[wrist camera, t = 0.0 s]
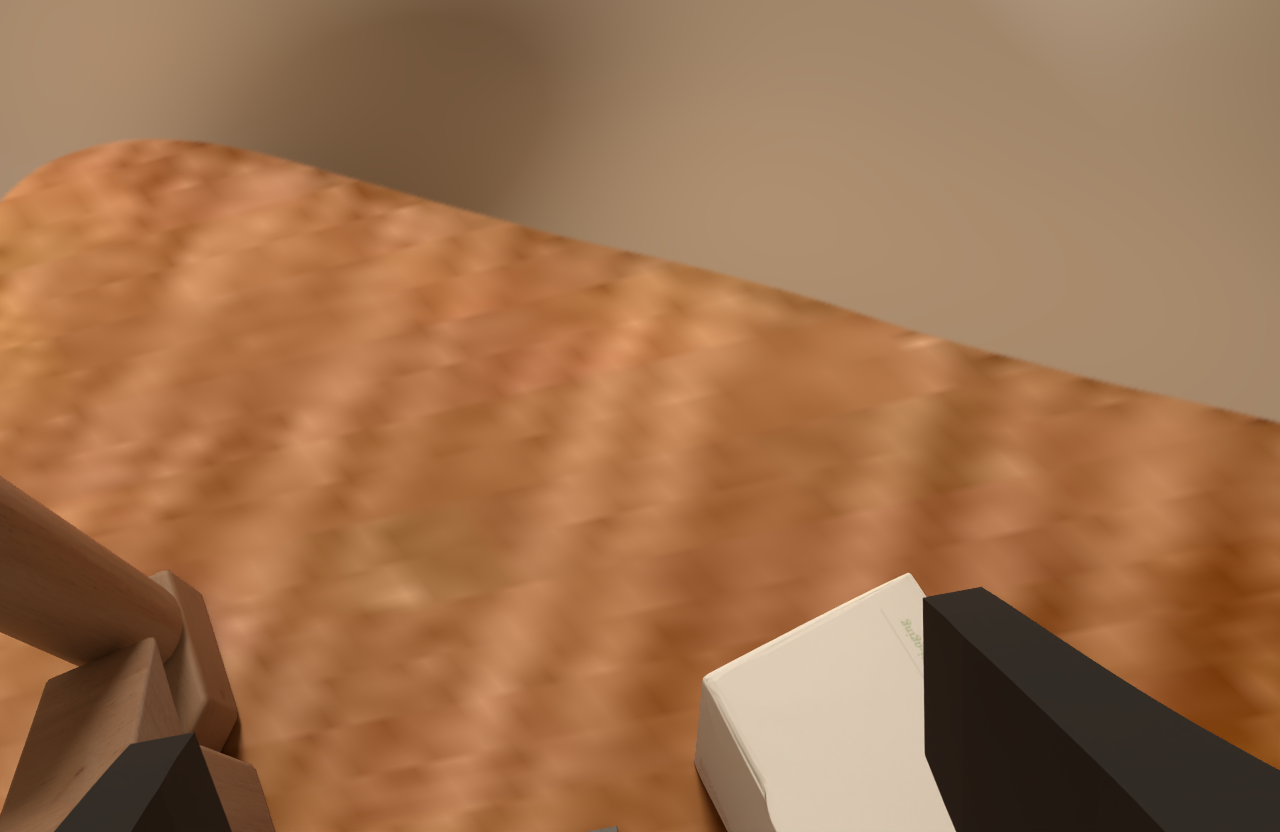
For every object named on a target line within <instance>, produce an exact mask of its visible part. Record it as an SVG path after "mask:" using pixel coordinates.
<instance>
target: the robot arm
mask: <svg viewBox="0 0 1280 832" xmlns="http://www.w3.org/2000/svg"><path fill="white" fill-rule="evenodd" d="M923 667H924V750H925V757H926V759H927V762H928V764H929V767H930V769H931V772H932V774H933V777H934V780H935V782H936V785H937V787H938V790H939V792H940V795H941V797H942V800H943V802H944V805H945V807H946V809H947V812H948V814H949V816H950V819H951V821H952V824H953V826H954V828H955V831H956V832H1280V770H1278V769H1276V768H1274V767H1272V766H1270V765H1268V764H1267V763H1265V762H1263V761H1261V760H1259V759H1257V758H1256V757H1254V756H1252V755H1250V754H1248V753H1247V752H1245V751H1243V750H1241V749H1239V748H1238V747H1236V746H1234V745H1232V744H1230V743H1229V742H1227V741H1225V740H1223V739H1222V738H1220V737H1218V736H1216V735H1214V734H1213V733H1211V732H1209V731H1207V730H1205V729H1204V728H1202V727H1200V726H1198V725H1197V724H1195V723H1193V722H1192V721H1190V720H1188V719H1186V718H1185V717H1183V716H1181V715H1180V714H1178V713H1176V712H1175V711H1173V710H1171V709H1170V708H1168V707H1166V706H1165V705H1163V704H1161V703H1160V702H1158V701H1156V700H1155V699H1153V698H1151V697H1150V696H1148V695H1147V694H1145V693H1143V692H1142V691H1140V690H1139V689H1137V688H1135V687H1134V686H1132V685H1131V684H1129V683H1127V682H1126V681H1124V680H1123V679H1121V678H1119V677H1118V676H1116V675H1115V674H1113V673H1112V672H1110V671H1109V670H1107V669H1105V668H1104V667H1102V666H1101V665H1099V664H1098V663H1096V662H1095V661H1093V660H1091V659H1090V658H1088V657H1087V656H1085V655H1084V654H1082V653H1081V652H1079V651H1078V650H1076V649H1075V648H1073V647H1072V646H1070V645H1069V644H1067V643H1066V642H1064V641H1063V640H1061V639H1060V638H1058V637H1057V636H1055V635H1054V634H1052V633H1051V632H1049V631H1048V630H1046V629H1045V628H1043V627H1042V626H1040V625H1039V624H1037V623H1036V622H1034V621H1033V620H1031V619H1030V618H1028V617H1027V616H1025V615H1024V614H1022V613H1021V612H1019V611H1018V610H1016V609H1015V608H1013V607H1012V606H1010V605H1009V604H1007V603H1006V602H1004V601H1003V600H1001V599H1000V598H998V597H997V596H995V595H993V594H992V593H990V592H989V591H987V590H985V589H984V588H982V587H978V588H973V589H968V590H962V591H957V592H951V593H946V594H940V595H935V596H930V597H924V598H923ZM54 832H232V830H231V828H230V825H229V822H228V820H227V817H226V814H225V812H224V809H223V806H222V804H221V801H220V798H219V796H218V793H217V790H216V788H215V785H214V782H213V780H212V777H211V774H210V772H209V769H208V766H207V764H206V761H205V758H204V756H203V753H202V750H201V748H200V745H199V742H198V740H197V737H196V734H195V732H193V733H187V734H182V735H176V736H171V737H166V738H160V739H155V740H149V741H144V742H139V743H133V744H130V745H129V746H128V747H127V748H126V749H125V750H124V751H123V752H122V753H121V754H120V756H119V757H118V758H117V759H116V760H115V761H114V762H113V763H112V764H111V766H110V767H109V768H108V769H107V770H106V771H105V772H104V773H103V775H102V776H101V777H100V778H99V779H98V780H97V782H96V783H95V784H94V785H93V786H92V787H91V789H90V790H89V791H88V792H87V793H86V794H85V796H84V797H83V798H82V799H81V800H80V801H79V803H78V804H77V805H76V806H75V807H74V808H73V810H72V811H71V812H70V813H69V814H68V816H67V817H66V818H65V819H64V820H63V821H62V823H61V824H60V825H59V826H58V827H57V828H56V830H55V831H54Z"/></svg>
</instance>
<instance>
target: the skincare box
mask: <svg viewBox="0 0 1280 832" xmlns="http://www.w3.org/2000/svg"><path fill="white" fill-rule="evenodd" d="M924 597H926V596H925V594H924V593H923V591H922V590H921V588H920V587H919V585H918V584H917V582H916V581H915V579H914V578H913V576H912V575H911V574H910V573H907V574H905V575H902V576H900V577H898V578H896V579H894V580H891V581H889V582H887V583H885V584H883V585H881V586H879V587H877V588H874V589H872V590H870V591H868V592H866V593H864V594H862V595H860V596H858V597H856V598H854V599H852V600H850V601H848V602H846V603H844V604H842V605H840V606H838V607H836V608H834V609H832V610H830V611H828V612H827V613H825V614H823V615H821V616H819V617H817V618H815V619H813V620H811V621H809V622H807V623H805V624H803V625H801V626H799V627H797V628H795V629H793V630H791V631H790V632H788V633H786V634H784V635H782V636H780V637H778V638H776V639H774V640H772V641H770V642H768V643H766V644H764V645H763V646H761V647H759V648H757V649H755V650H753V651H751V652H749V653H747V654H745V655H743V656H741V657H739V658H738V659H736V660H734V661H732V662H730V663H728V664H726V665H724V666H722V667H721V668H719V669H717V670H715V671H713V672H711V673H709V674H707V675H706V676H705V677H704V678H703V683H702V693H701V703H700V713H699V723H698V732H697V742H696V751H695V759H694V764H695V766H696V769H697V771H698V773H699V776H700V778H701V780H702V782H703V784H704V786H705V788H706V790H707V792H708V794H709V796H710V798H711V800H712V802H713V804H714V806H715V808H716V810H717V812H718V814H719V816H720V817H721V819H722V821H723V824H724V826H725V828H726V830H727V832H956V831H955V828H954V826H953V824H952V821H951V819H950V816H949V814H948V812H947V809H946V807H945V805H944V802H943V800H942V797H941V795H940V792H939V790H938V787H937V785H936V782H935V780H934V777H933V774H932V772H931V769H930V767H929V764H928V762H927V759H926V757H925V750H924V667H923V598H924Z"/></svg>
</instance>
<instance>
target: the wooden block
mask: <svg viewBox="0 0 1280 832" xmlns="http://www.w3.org/2000/svg"><path fill="white" fill-rule="evenodd" d="M0 632H2V633H4V634H6V635H8V636H11V637H13V638H15V639H17V640H20V641H22V642H24V643H27V644H29V645H31V646H33V647H36V648H38V649H40V650H43V651H45V652H47V653H49V654H52V655H54V656H56V657H59V658H61V659H63V660H65V661H68V662H70V663H72V664H75V665H77V666H79V667H78V668H75V669H73V670H70V671H68V672H66V673H63V674H61V675H59V676H56V677H54V678H51V679H49V680H48V682H47V683H46V685H45V688H44V691H43V694H42V697H41V699H40V702H39V705H38V708H37V711H36V714H35V717H34V720H33V723H32V725H31V728H30V731H29V734H28V737H27V740H26V743H25V746H24V749H23V751H22V754H21V757H20V760H19V763H18V766H17V769H16V772H15V775H14V777H13V780H12V783H11V786H10V789H9V792H8V795H7V798H6V801H5V803H4V806H3V809H2V812H1V815H0V832H54V831H55V830H56V828H57V827H58V826H59V825H60V824H61V823H62V821H63V820H64V819H65V818H66V817H67V816H68V814H69V813H70V812H71V811H72V810H73V808H74V807H75V806H76V805H77V804H78V803H79V801H80V800H81V799H82V798H83V797H84V796H85V794H86V793H87V792H88V791H89V790H90V789H91V787H92V786H93V785H94V784H95V783H96V782H97V780H98V779H99V778H100V777H101V776H102V775H103V773H104V772H105V771H106V770H107V769H108V768H109V767H110V766H111V764H112V763H113V762H114V761H115V760H116V759H117V758H118V757H119V756H120V754H121V753H122V752H123V751H124V750H125V749H126V748H127V747H128V746H129V745H130V744H133V743H139V742H144V741H149V740H155V739H160V738H166V737H171V736H176V735H182V734H187V733H193V732H195V734H196V737H197V740H198V742H199V745H200V748H201V750H202V753H203V756H204V758H205V761H206V764H207V766H208V769H209V772H210V774H211V777H212V780H213V782H214V785H215V788H216V790H217V793H218V796H219V798H220V801H221V804H222V806H223V809H224V812H225V814H226V817H227V820H228V822H229V825H230V828H231V830H232V832H275V830H274V827H273V823H272V820H271V817H270V814H269V810H268V807H267V804H266V801H265V797H264V794H263V791H262V788H261V784H260V781H259V778H258V775H257V771H256V769H255V768H254V767H253V766H252V765H251V764H249V763H246V762H243V761H241V760H238V759H235V758H233V757H230V756H227V755H225V754H222V753H220V752H221V750H222V748H223V746H224V744H225V742H226V740H227V738H228V736H229V734H230V732H231V730H232V728H233V726H234V724H235V722H236V720H237V717H238V713H237V707H236V704H235V701H234V698H233V694H232V691H231V688H230V684H229V681H228V678H227V675H226V671H225V668H224V665H223V662H222V658H221V655H220V652H219V649H218V645H217V642H216V639H215V636H214V632H213V629H212V626H211V623H210V619H209V616H208V613H207V610H206V606H205V603H204V600H203V597H202V595H201V594H200V592H199V591H197V590H196V589H195V588H193V587H192V586H190V585H189V584H188V583H186V582H185V581H184V580H182V579H181V578H180V577H178V576H177V575H175V574H174V573H173V572H171V571H170V570H164V571H161V572H158V573H156V574H153V575H151V576H146V575H145V574H143V573H142V572H140V571H139V570H137V569H136V568H134V567H133V566H131V565H130V564H129V563H127V562H126V561H124V560H123V559H121V558H120V557H118V556H117V555H115V554H114V553H112V552H111V551H110V550H108V549H107V548H105V547H104V546H102V545H101V544H99V543H98V542H96V541H95V540H93V539H92V538H90V537H89V536H88V535H86V534H85V533H83V532H82V531H80V530H79V529H77V528H76V527H74V526H73V525H71V524H70V523H69V522H67V521H66V520H64V519H63V518H61V517H60V516H58V515H57V514H55V513H54V512H52V511H51V510H49V509H48V508H47V507H45V506H44V505H42V504H41V503H39V502H38V501H36V500H35V499H33V498H32V497H30V496H29V495H28V494H26V493H25V492H23V491H22V490H20V489H19V488H17V487H16V486H14V485H13V484H11V483H10V482H8V481H7V480H6V479H4V478H3V477H1V476H0Z"/></svg>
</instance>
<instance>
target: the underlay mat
mask: <svg viewBox="0 0 1280 832" xmlns="http://www.w3.org/2000/svg"><path fill="white" fill-rule="evenodd" d="M590 832H618V831H617V826H616V827H611V828H605V829H600V830H595V831H590Z"/></svg>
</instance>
